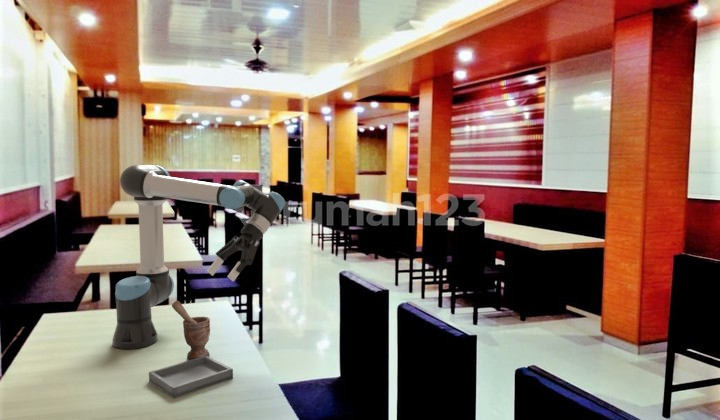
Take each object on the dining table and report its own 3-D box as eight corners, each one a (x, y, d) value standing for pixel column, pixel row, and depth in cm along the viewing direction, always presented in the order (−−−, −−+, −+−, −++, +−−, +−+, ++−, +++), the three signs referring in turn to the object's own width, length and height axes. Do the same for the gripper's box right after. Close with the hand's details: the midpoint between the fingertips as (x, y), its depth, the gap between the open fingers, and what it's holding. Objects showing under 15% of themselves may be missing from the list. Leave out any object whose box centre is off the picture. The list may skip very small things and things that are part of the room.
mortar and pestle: (178, 366, 172) (176, 305, 170) (172, 358, 179) (169, 300, 177) (214, 358, 178) (212, 300, 176) (206, 351, 185) (204, 295, 183)
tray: (149, 381, 160) (148, 372, 159) (206, 364, 173) (206, 355, 173) (173, 398, 149) (173, 387, 148) (233, 378, 162) (232, 368, 162)
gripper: (282, 238, 186) (246, 288, 177) (242, 232, 204) (208, 277, 194) (269, 224, 182) (232, 275, 173) (230, 219, 199) (194, 265, 190)
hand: (219, 276), depth 183 cm, fingers open, 13 cm apart
